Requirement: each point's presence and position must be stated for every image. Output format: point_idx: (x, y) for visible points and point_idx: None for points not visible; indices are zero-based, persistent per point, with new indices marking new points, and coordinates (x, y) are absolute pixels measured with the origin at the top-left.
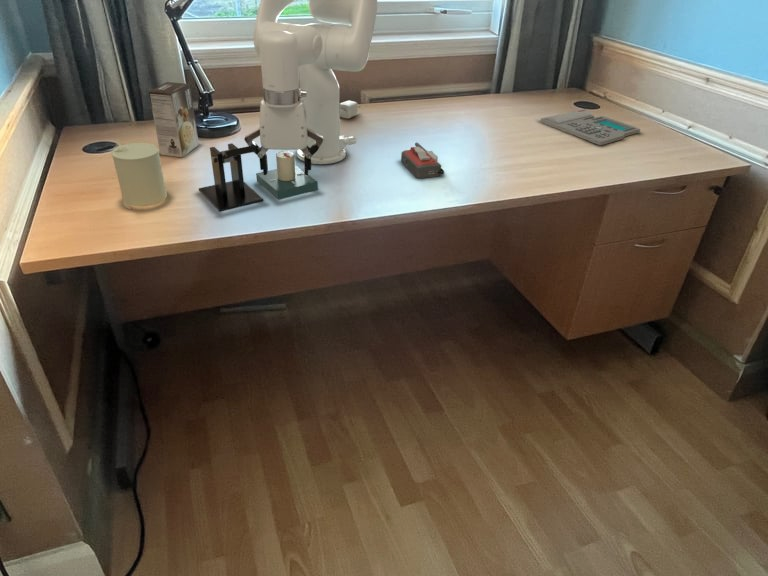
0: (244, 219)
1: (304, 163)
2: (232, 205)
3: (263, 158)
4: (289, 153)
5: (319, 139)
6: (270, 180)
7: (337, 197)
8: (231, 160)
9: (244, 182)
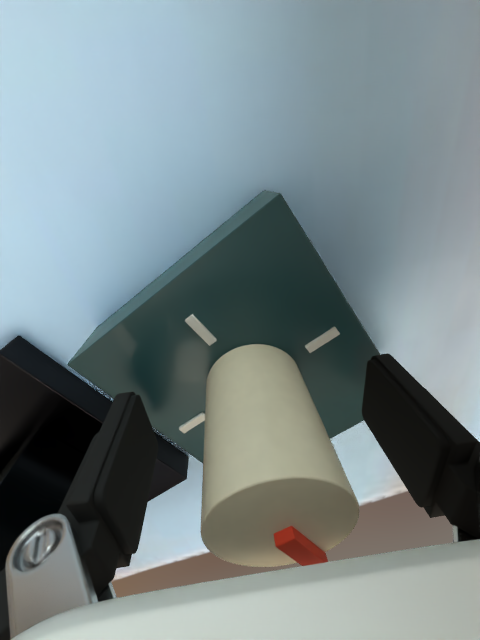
0: (162, 518)
1: (401, 478)
2: None
3: (119, 564)
4: (317, 512)
5: None
6: (182, 429)
7: (441, 372)
8: None
9: (41, 382)
